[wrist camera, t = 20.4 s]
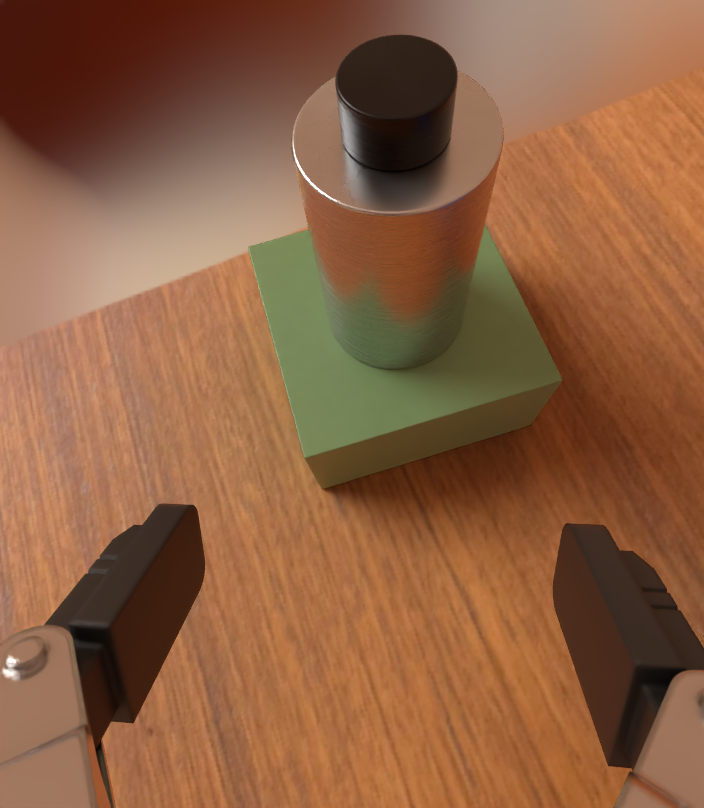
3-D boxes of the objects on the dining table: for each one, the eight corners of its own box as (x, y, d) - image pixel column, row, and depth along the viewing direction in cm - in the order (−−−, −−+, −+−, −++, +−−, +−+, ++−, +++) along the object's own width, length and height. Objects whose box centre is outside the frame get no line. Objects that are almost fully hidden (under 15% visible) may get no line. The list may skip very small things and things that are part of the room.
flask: (335, 379, 20) (286, 181, 11) (322, 263, 22) (272, 15, 13) (475, 360, 20) (543, 144, 11) (449, 246, 22) (489, -17, 13)
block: (321, 489, 24) (304, 458, 19) (271, 308, 28) (247, 246, 23) (531, 425, 24) (563, 379, 20) (454, 255, 28) (465, 184, 24)
